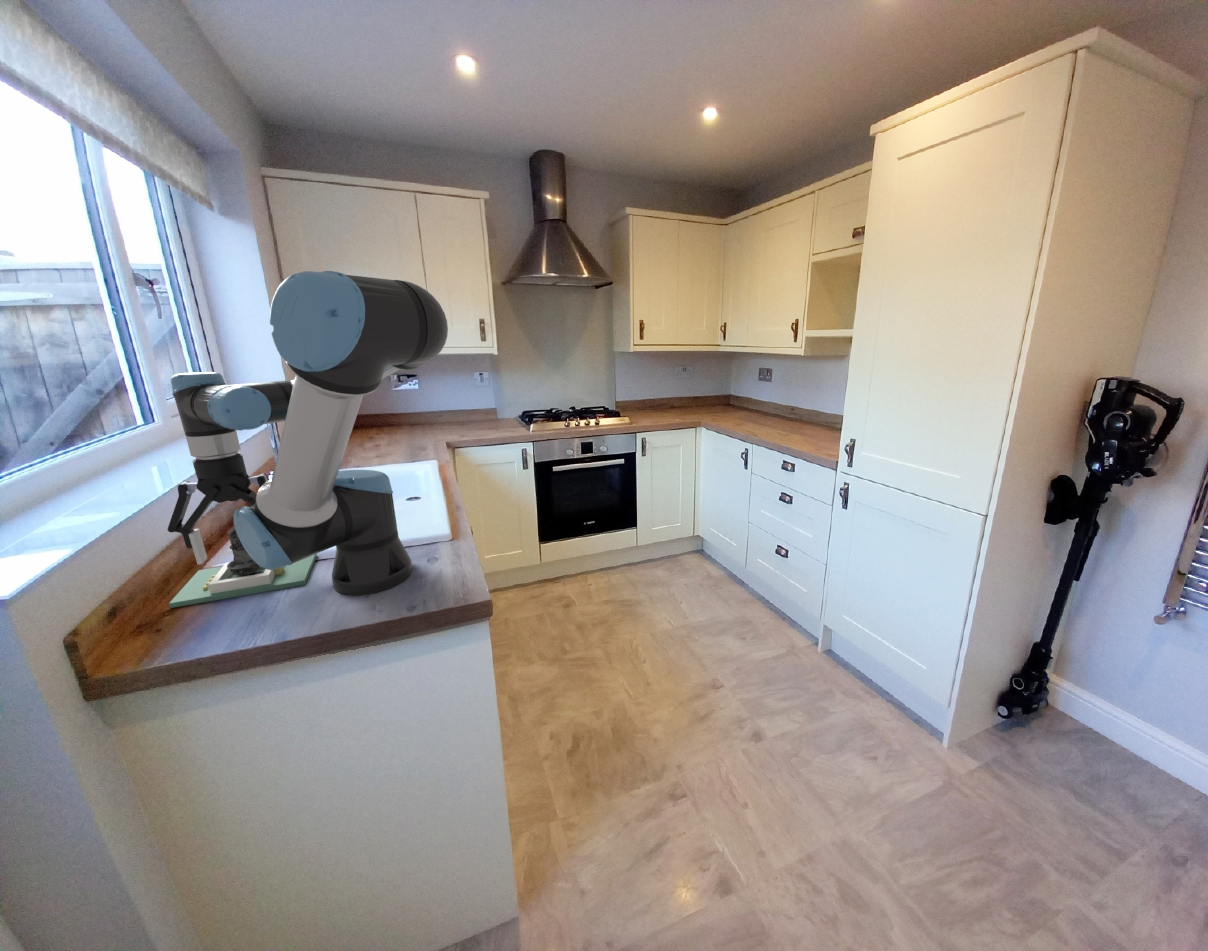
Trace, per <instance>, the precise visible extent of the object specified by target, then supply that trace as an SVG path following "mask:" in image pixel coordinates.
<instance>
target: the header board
mask: <svg viewBox="0 0 1208 951" xmlns="http://www.w3.org/2000/svg"><path fill="white" fill-rule="evenodd" d="M317 554H318V553H317ZM317 554H314V555H312V556H310V557H307V558H305V559H302V560H300V561H297V562H295V563H293V564H292V565H286V566H284V567H281V568H278V569H275V570H268V569H265V568H262V567H260V568H259V569H258V570H259V571H263V572H264V573H262V574H256V575H250V576H244V577H238V578H235V577H236V576H237V575H235V574H233V573H232V572H231V571H230V569H229V568H227V565H228V564H229V563H230V562H231V561H229V562H225V563H224V564H223V566H217V567H212V568H203V569H199V570H198V571H196V572H195V574H194V575H193V576H192V577H191V578H190V579H189V580H188V581H187V583H186V584H185V585H184V586H183V587H182V588H181V589H180V590H179V591H178V593H177V594H176V595H175V596H174V597H173V598H172V599H171V601H169V603H168V605H169V607H170V609H172V608H178V607H184V606H190V605H197V604H201V603H207V602H213V601H218V600H224V599H229V598H236V597H241V596H247V595H253V594H258V593H264V592H271V591H276V590H281V589H282V590H283V589H287V588H293V587H298V586H304V585H306V583H307V581H308V578H309V576H310V574H311V571H312V569H313V567H314V564H315V562H316V559H317V556H318V555H317Z"/></svg>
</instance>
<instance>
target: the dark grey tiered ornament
mask: <svg viewBox="0 0 1208 951" xmlns="http://www.w3.org/2000/svg"><path fill="white" fill-rule="evenodd" d="M228 537H229V542H230V546H229V550H231V551H232V554H233V560H232V561H229V562H230V563H229V564H228V565H227V568H229V569H230V571H231V572H232V573H233V574H235V575H237V576H236V577H235V578H238V577H244V576H250V575H256V574H262V573H264V572H263V571H259V570H258V569H259V568H260V566H259V565H258V564H257V563H256V562H254V560H253V559H252V558H251V557H250V556H249V554H248V553H247V552H246V550H245V548H244V547H243V545H242V543H241V541H240V539H239V537H238V535H237V532H236V530H235V526H234V525H233V527H232V529H230V530H229V531H228Z"/></svg>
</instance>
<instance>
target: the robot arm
mask: <svg viewBox="0 0 1208 951" xmlns="http://www.w3.org/2000/svg"><path fill="white" fill-rule="evenodd" d="M269 310H270V312H269V325H271V326H272V327H273V329H272V330H273V331H271V337H272V341H273V343H274V346H275V347H276V350H277V353H278V354H279V355H280V356H281V358H282V359H283V360H284V361H285V363H286V365H287V367H288V369H289V371H291V373H293V375H294V376H295V377H294V379H289V380H288V379H287V380H277V381H267V382H253V383H240V384H226V382H225V380H224V377H223V375H222V374H221V373H219V372H215V371H203V372H201V371H200V372H183V373H175V374H174V375H172V376H171V378H170V385H171V390H172V394H171V395H172V396H173V398H174V401H175V404H176V407H177V411H178V414H179V417H180V421H181V426H182V428H183V432H184V435H185V439H186V443H187V447H188V451H189V454H190V456H191V457H193V460H192V465H193V468H194V472H195V475H196V478H197V482H191V481H187V480H186V481H185V480H184V481H183V482H181V483H180V484H178V486H177V494H178V497H177V500H176V504H175V506H174V508H173V512H172V515H171V518H170V521H169V524H168V527H167V532H169V533H179V534H181V535H182V538H183V541H184V544H185V547H186V549H192V550H193V555H194V557H195V560H196V563H197V565H202V564H203V563H205V562H206V560H207V559H208V555H207V551H206V548H205V545H204V542H203V538H202V535H201V532H200V528H195V527H196V525H197V523H198V522H199V520H200V519H201V518H202V516H204V514H205V512H206V511H207V510H208V508H209V507H210V506H211V505H212V503H213V502H216V503H217V504H219V503H224V502H236V501H238V500H242V501H244V502H246V503H248V504H250V505H243V506H242V507H239V508H238V509H236V510H235V511H234V513H233V518H232V519H233V526H235V527H234V528H235V530H236V532H237V535H238V537H239V539H240V541H241V543H242V545H243V547H244V548H245V550H246V552H247V553H248V554H249V556H250V557H251V558H252V559H253V560H254V562H256V563H257V564H258V565H259V566H260V567H262V568H265V569H268V570H275V569H278V568H281V567H284V566H286V565H292V564H293V563H295V562H297V561H300V560H302V559H305V558H307V557H310V556H312V555H314V554H319V553H321V552H322V553H323V551H326V550H329V549H331V548H333V547H335V549H336V552H335V556H334V562H333V567H332V572H331V573H332V574H331V581H332V585H333V588H334V590H335V591H336V592H339V593H340V594H344V595H349V596H350V595H351V596H357V595H358V596H359V595H361V596H362V595H369V594H375V593H378V592H382V591H385V590H389V589H391V588H394V587H395V586H397V585H399V584H401V583H402V582H404V581H405V580H407V579H408V578H409V577H410V575H411V574H412V572H413V565H412V560H411V557H410V555H409V554H408V551H407V550H406V547H405V546H404V544H403V542H402V540H401V539H400V537H399V531H398V524H397V518H396V511H395V510H396V509H395V503H394V496H393V494H394V490H393V489H392V484H391V481H390V477H389V476H388V475H387V474H386V473H384V472H383V471H380V470H373V469H344V470H340V469H341V468H340V467H341V465H342V462H343V458H344V456H345V453H346V449H347V447H348V443H349V440H350V437H351V434H352V432H353V428H354V426H355V422H356V420H357V416H358V414H359V410H360V407H361V406H362V405H361V404H362V401H363V399H364V396H367V395H370V394H372V393H374V392H375V391H376V390H377V389H378V388H379V387H380V384H381V382H382V380H383V379H385V378H386V377H388V376H390V375H392V374H394V373H395V372H397V371H399V370H400V371H411V370H414V369H417V368H418V367H421V366H422V365H425V364H426V363H428V362H429V361H432V360H433V359H435V357H437V356H438V355H439V354H440V353H441V352H442V350H443V348H444V347H445V344H446V342H447V339H448V332H449V328H448V320H447V317H446V314H445V311H444V310H443V308H442V306H441V304H440V303H439V301H438V300H437V299H436V298H435V297H434V295H432V293H430V292H429V291H428V290H426V289H425V288H423V287H422V286H420V285H418V284H416V283H413V282H409V281H406V280H399V279H389V278H388V279H387V278H381V277H380V278H379V277H371V276H370V277H368V276H363V275H362V276H359V275H349V274H346V273H342V272H338V271H333V270H324V271H308V270H306V271H299V272H297V273H294V274H291V275H290V276H288V277H286V278H285V279H284V280H283V281H282V282H281V283H280V284H279V285H278V287H277V289H276V290H275V293H274V295H273V297H272V300H271V305H270V309H269ZM281 422H284V424H283V428H282V429H283V430H282V432H281V433H282V434H281V437H280V442H279V446H278V451H277V456H276V460H275V463H274V464H275V465H274V468H273V473H272V478H271V479H269V476H268V474H267V473H263V472H262V473H261V474H259V475H255V476H251V477H250V476H249V474H248V473H247V468H246V464H245V460H244V457H243V456H244V455H243V453H241V452H239V451H241V449H242V448H241V445H240V440H239V436H238V432H237V431H244V430H246V431H247V430H255V429H259V428H261V426H263V425H269V424H273V423H275V424H276V423H281ZM252 484H254V485H255V487H259V489H258V490H257V492H255V490H252V488H250V486H251V485H252ZM196 490H198V491H199V492H200V493H202V495H204V497H203V498H202V500H201V501H200V502H199V504H198V505H197V507H196V509H195V510H194V511H193V512H192V514H191V515H190V517H189V518H188V519H187V520H186V522H185V523H183V521H184V519H185V516H186V515H185V514H186V512H187V510H188V506H189V504H190V500H191V498H192V495H193V494H194V493H195V492H196Z"/></svg>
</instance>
